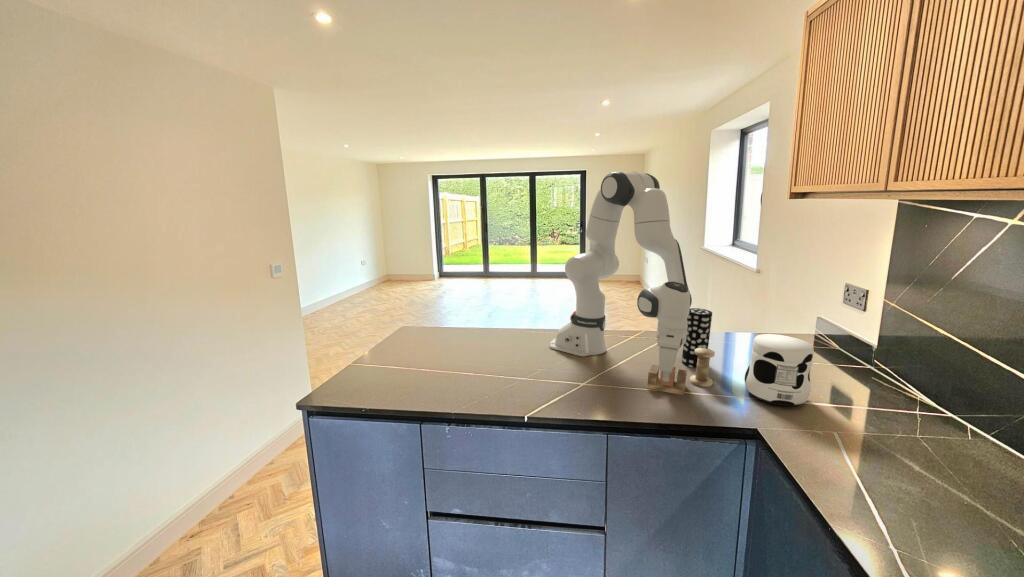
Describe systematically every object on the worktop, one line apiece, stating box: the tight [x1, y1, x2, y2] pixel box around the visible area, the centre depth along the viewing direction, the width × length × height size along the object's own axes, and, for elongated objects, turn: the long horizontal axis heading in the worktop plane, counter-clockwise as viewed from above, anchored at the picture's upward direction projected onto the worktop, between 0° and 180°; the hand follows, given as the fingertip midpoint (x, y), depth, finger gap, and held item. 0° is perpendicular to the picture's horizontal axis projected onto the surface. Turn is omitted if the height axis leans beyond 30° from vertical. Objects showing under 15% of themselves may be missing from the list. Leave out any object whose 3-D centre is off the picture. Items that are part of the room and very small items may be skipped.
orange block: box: [659, 366, 676, 387], centre depth 137 cm, size 4×4×5 cm
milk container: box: [744, 333, 815, 407], centre depth 130 cm, size 17×17×18 cm
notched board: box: [646, 364, 688, 396], centre depth 138 cm, size 11×7×6 cm, turn 65°
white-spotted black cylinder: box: [681, 307, 713, 369], centre depth 155 cm, size 8×8×20 cm
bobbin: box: [689, 348, 715, 388], centre depth 141 cm, size 7×7×11 cm
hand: (667, 374), depth 137 cm, fingers open, 8 cm apart
